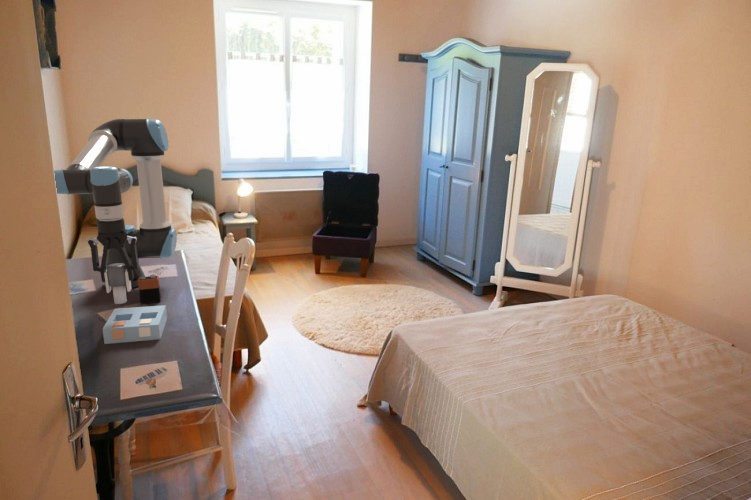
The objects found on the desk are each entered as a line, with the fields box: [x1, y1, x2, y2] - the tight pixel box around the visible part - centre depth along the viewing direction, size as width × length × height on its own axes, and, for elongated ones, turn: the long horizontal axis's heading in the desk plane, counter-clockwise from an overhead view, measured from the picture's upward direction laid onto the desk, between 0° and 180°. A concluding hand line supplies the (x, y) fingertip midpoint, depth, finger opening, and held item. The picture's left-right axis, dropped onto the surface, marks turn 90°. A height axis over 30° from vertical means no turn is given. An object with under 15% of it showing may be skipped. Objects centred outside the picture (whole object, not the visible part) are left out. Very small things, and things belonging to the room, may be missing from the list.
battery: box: [137, 274, 162, 305], centre depth 191 cm, size 4×7×10 cm, turn 111°
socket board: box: [102, 304, 168, 345], centre depth 167 cm, size 16×16×5 cm
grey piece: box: [106, 263, 128, 305], centre depth 162 cm, size 5×5×12 cm
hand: (119, 290), depth 163 cm, fingers closed on grey piece, 5 cm apart
